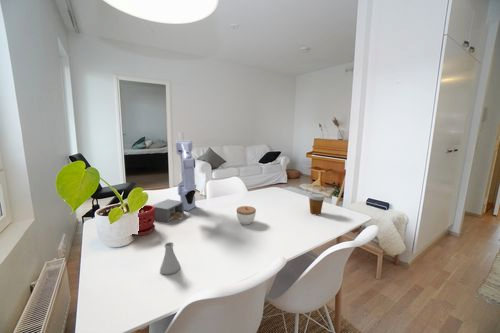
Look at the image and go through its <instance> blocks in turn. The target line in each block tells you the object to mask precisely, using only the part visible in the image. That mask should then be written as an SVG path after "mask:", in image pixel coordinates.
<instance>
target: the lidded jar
mask: <svg viewBox="0 0 500 333" xmlns="http://www.w3.org/2000/svg"><path fill="white" fill-rule="evenodd" d="M236 217H237V218H236V219H237V221H239V223H240V224H242V225H250V224H252V223H253V221H255V217H256V207H253V206H250V205H249V206H248V205H244V206H238V207H237V208H236Z"/></svg>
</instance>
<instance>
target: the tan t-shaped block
mask: <svg viewBox="0 0 500 333" xmlns="http://www.w3.org/2000/svg"><path fill="white" fill-rule="evenodd" d="M183 217H184V214H183V213H180V212H175V208H172V209H170V210H169V221H170V220H172V219H178V220H181V219H183Z"/></svg>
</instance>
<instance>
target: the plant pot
mask: <svg viewBox="0 0 500 333" xmlns="http://www.w3.org/2000/svg"><path fill="white" fill-rule="evenodd" d="M144 205H145V204H144ZM142 210H143V211H144V212H143V213H142V212H141V211H142ZM138 217H139V231H138V235H137V236H144V235H147V234H149V233H152V232H153V231H154V230H155V228H156V224H155V221H156V220H155V207H154V206H152V205H149V204H146V205H145V206H144V207H143V208H141V209H140V210H139V213H138Z"/></svg>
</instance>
